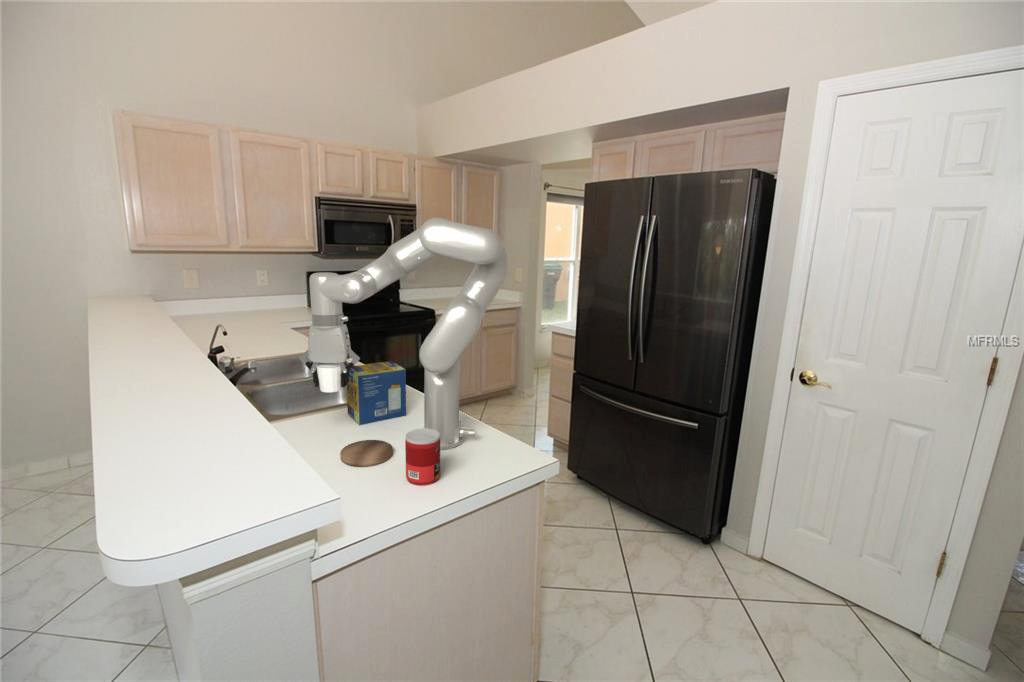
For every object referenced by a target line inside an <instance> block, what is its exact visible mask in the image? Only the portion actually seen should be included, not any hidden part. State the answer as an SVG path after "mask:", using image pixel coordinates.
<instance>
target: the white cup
mask: <svg viewBox="0 0 1024 682" xmlns="http://www.w3.org/2000/svg"><path fill="white" fill-rule="evenodd" d="M317 373H318V379H319V390H320V392H322V393H336V392H340V391H342V390H343V387H341V373H342V370H341V368H340V366H339V364H338V363H319V364H318V365H317Z"/></svg>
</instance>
